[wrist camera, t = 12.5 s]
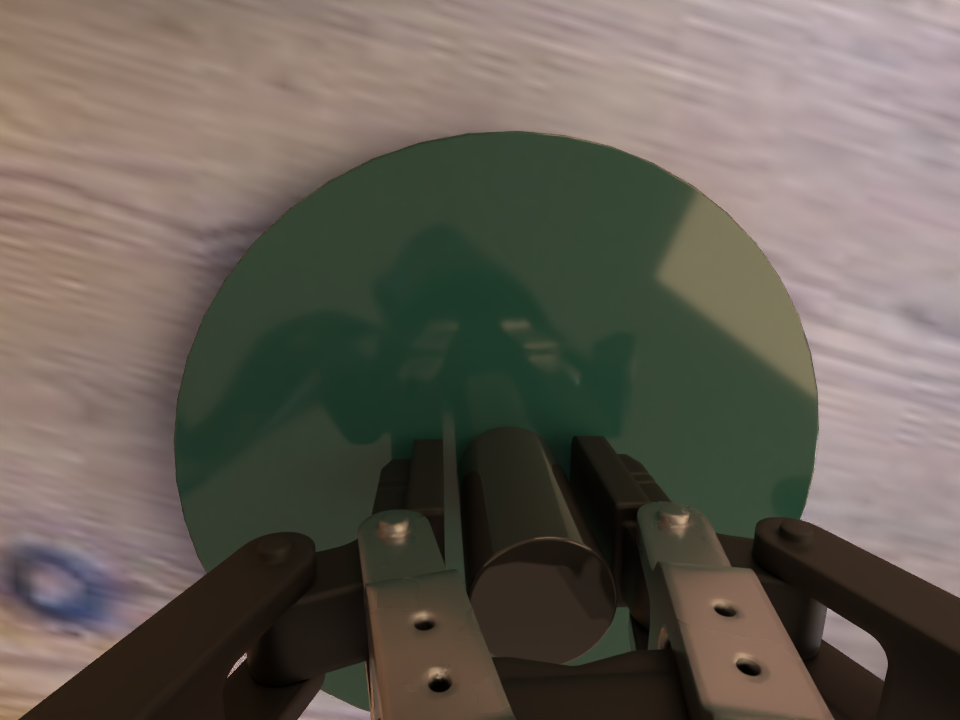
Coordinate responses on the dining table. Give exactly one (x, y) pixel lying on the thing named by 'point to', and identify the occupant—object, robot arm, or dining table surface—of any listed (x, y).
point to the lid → (496, 372)
